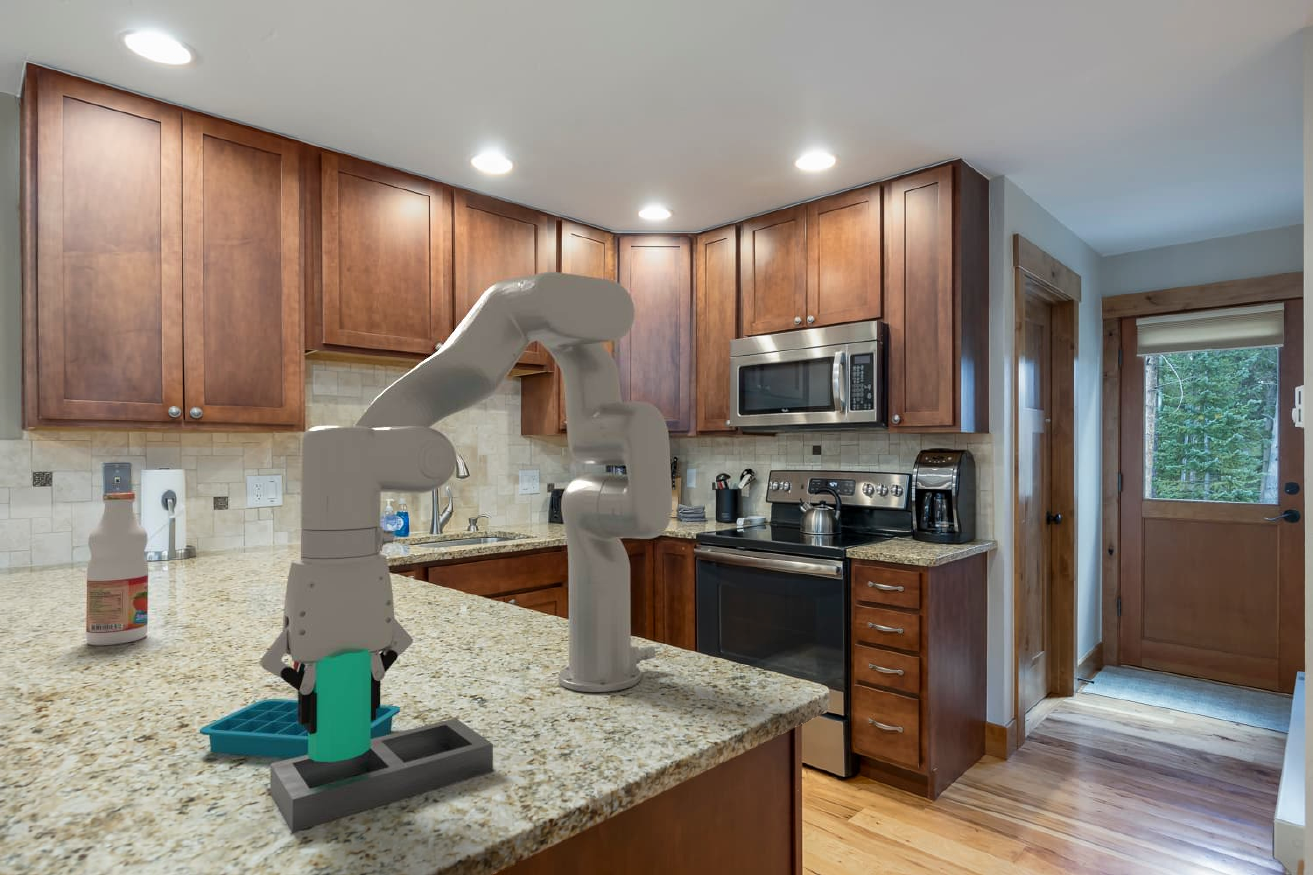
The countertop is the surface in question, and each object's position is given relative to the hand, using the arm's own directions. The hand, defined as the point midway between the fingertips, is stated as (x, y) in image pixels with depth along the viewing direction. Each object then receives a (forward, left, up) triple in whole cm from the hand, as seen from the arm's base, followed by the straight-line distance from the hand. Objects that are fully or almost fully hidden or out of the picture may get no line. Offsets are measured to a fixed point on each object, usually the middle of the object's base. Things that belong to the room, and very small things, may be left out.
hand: (339, 721), depth 74 cm
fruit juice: (+15, -94, -8) cm, 96 cm away
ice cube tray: (-1, -18, -8) cm, 20 cm away
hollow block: (-5, 0, -7) cm, 9 cm away
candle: (0, 0, -3) cm, 3 cm away
